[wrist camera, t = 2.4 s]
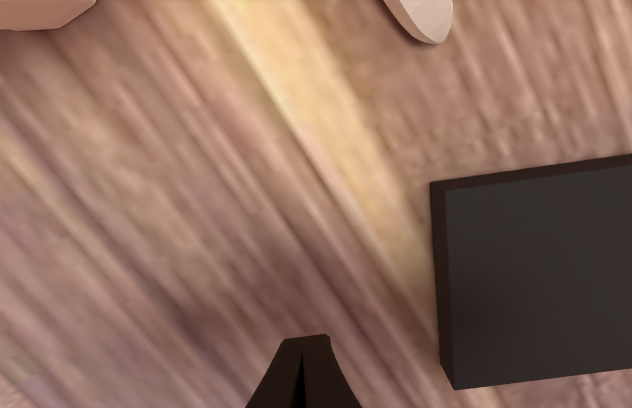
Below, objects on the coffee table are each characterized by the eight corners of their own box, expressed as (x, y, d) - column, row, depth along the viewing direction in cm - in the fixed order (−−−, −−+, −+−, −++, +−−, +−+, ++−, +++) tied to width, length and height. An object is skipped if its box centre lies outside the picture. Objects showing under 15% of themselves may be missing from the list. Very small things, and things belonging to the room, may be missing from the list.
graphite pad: (439, 364, 15) (453, 391, 13) (429, 182, 13) (444, 190, 11) (689, 332, 14) (731, 356, 13) (719, 141, 12) (773, 145, 11)
